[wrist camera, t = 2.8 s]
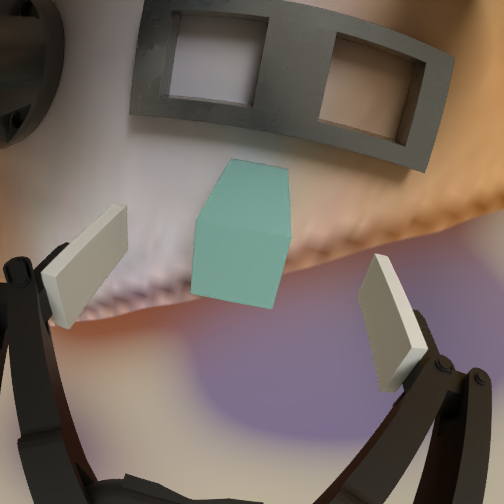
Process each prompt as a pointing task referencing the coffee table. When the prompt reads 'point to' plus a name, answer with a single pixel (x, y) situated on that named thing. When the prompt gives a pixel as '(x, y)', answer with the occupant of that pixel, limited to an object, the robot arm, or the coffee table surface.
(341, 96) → the coffee table surface
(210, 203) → the teal brick
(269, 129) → the grey flat frame
